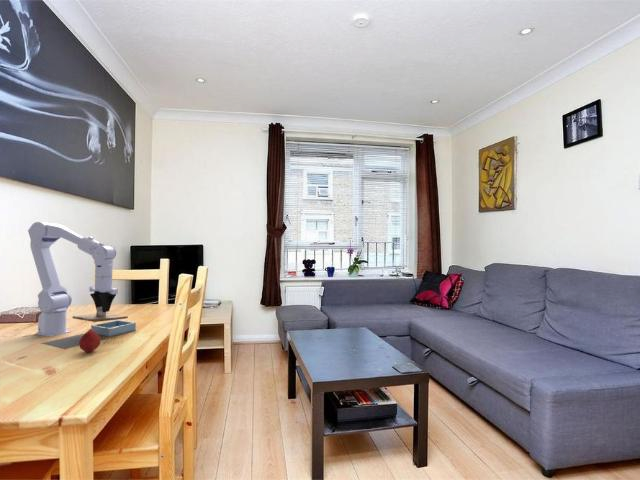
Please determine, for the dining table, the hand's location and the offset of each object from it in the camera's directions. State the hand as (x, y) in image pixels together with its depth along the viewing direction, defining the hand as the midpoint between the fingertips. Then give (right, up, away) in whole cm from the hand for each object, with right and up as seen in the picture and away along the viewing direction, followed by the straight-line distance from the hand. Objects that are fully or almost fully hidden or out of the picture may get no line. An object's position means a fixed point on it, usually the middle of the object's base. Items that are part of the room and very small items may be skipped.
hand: (102, 311), depth 131 cm
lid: (0, -3, -1) cm, 3 cm away
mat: (-5, -9, -9) cm, 14 cm away
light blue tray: (+2, -10, +4) cm, 10 cm away
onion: (+9, -10, -20) cm, 24 cm away
